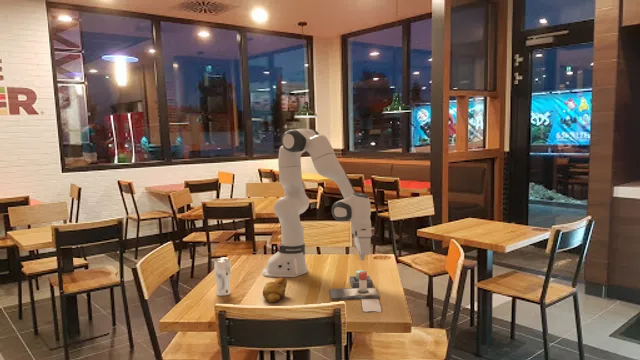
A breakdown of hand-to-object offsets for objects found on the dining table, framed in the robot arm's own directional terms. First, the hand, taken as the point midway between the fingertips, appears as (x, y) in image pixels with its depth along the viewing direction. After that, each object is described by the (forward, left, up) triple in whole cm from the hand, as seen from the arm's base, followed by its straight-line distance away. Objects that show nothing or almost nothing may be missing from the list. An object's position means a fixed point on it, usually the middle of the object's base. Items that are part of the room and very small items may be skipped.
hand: (362, 259), depth 204 cm
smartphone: (0, -23, -13) cm, 26 cm away
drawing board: (-5, -11, -12) cm, 17 cm away
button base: (0, 0, -12) cm, 12 cm away
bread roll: (-40, -11, -12) cm, 43 cm away
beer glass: (-61, -3, -12) cm, 63 cm away
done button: (0, 0, -10) cm, 10 cm away
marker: (-1, -11, -11) cm, 15 cm away
